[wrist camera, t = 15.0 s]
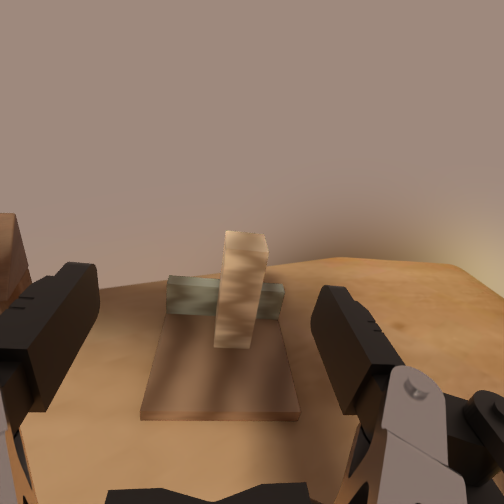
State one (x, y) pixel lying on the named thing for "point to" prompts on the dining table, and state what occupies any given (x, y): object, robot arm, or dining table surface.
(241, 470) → the dining table surface
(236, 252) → the batten
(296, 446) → the dining table surface
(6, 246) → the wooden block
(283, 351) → the floor board
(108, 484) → the dining table surface
